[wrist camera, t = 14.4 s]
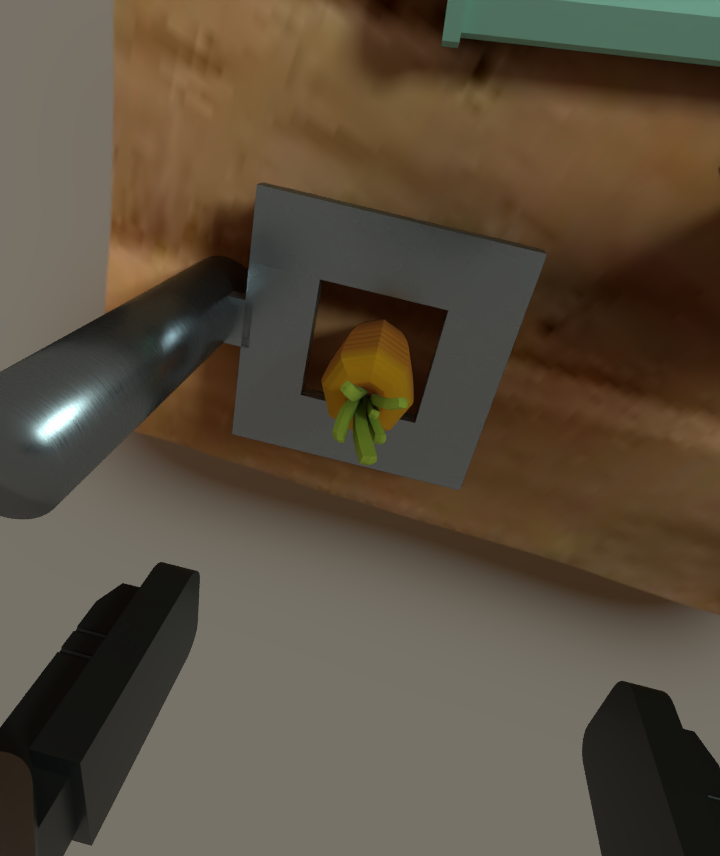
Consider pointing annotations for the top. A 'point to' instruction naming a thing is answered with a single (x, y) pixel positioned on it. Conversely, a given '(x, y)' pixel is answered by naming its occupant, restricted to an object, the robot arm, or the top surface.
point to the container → (594, 26)
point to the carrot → (369, 386)
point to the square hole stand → (273, 347)
